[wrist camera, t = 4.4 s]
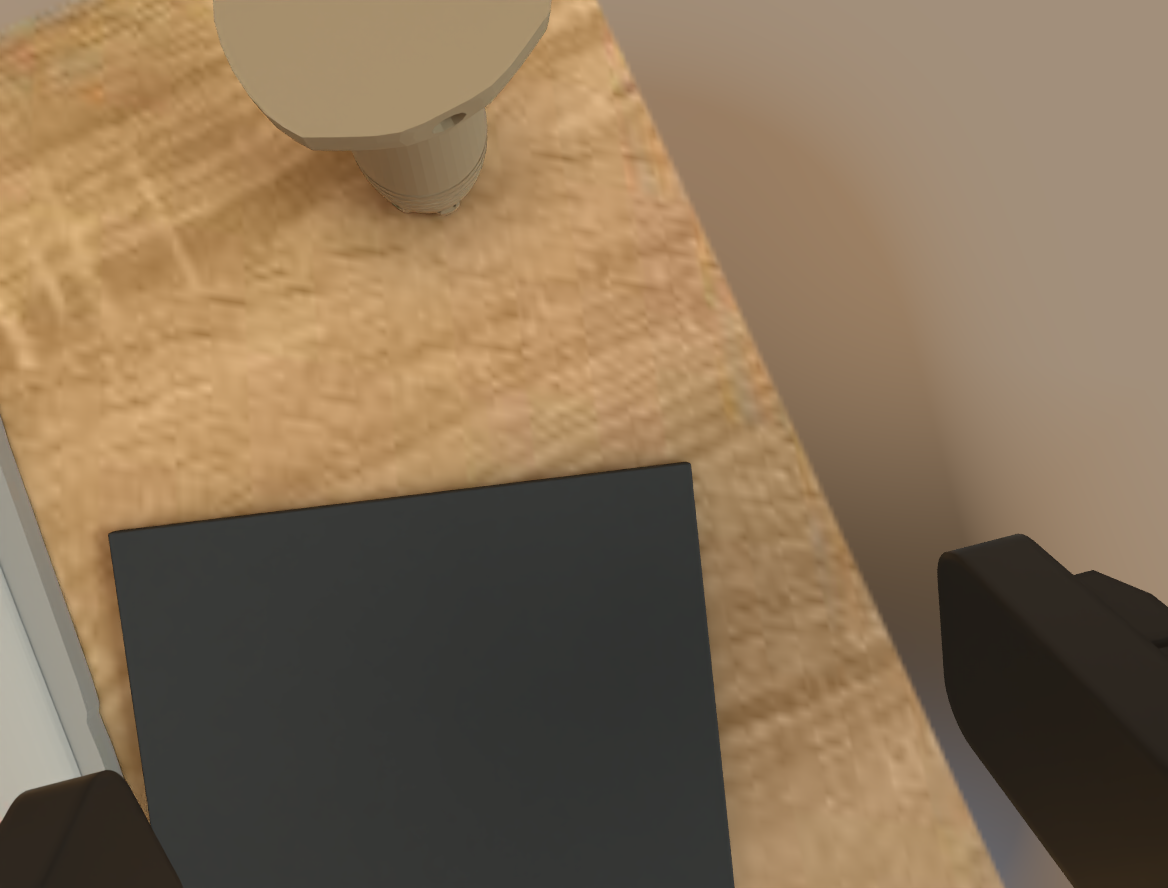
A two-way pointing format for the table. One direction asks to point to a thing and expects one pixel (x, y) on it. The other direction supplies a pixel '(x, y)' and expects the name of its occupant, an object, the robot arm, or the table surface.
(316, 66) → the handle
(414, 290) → the table surface
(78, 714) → the office telephone
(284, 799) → the mat
